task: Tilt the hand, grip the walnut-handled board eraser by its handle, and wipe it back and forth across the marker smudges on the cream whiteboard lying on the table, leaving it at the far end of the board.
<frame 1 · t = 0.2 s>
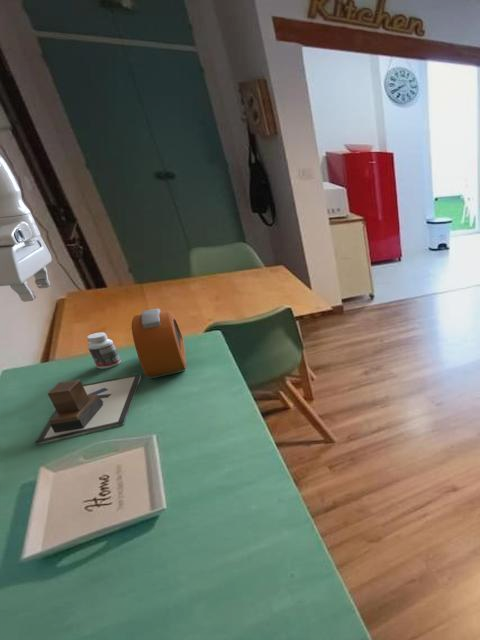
hand: (37, 293, 91), 31 cm above the table, tool pointing down, fingers open, 8 cm apart
whiteboard: (95, 405, 106), on the table
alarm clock: (168, 363, 126), on the table
pill bottle: (109, 365, 124), on the table
eraser: (80, 418, 100), point 1 cm above the table, touching whiteboard
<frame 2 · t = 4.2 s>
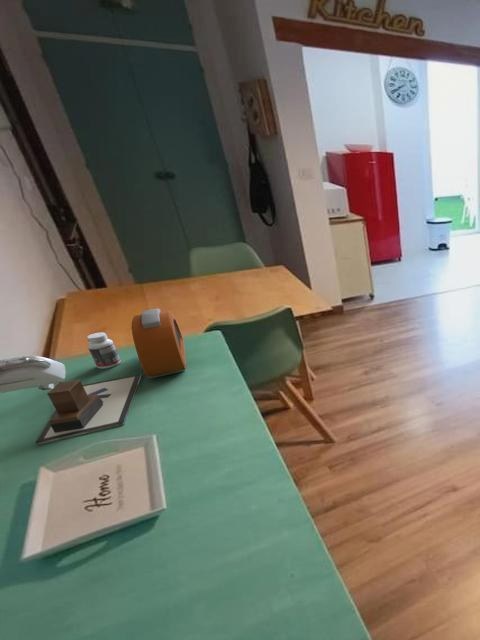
hand: (18, 391, 83), 16 cm above the table, tool tilted 45°, fingers open, 8 cm apart
nothing on the table moved.
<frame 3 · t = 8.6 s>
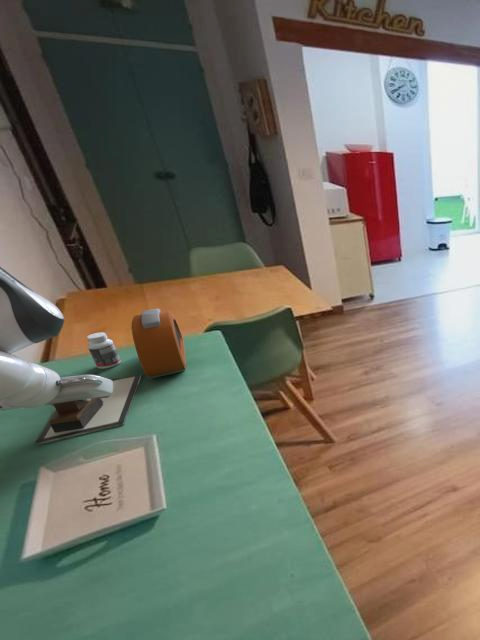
hand: (73, 400, 98), 5 cm above the table, tool tilted 45°, fingers closed on eraser, 4 cm apart
eraser: (80, 418, 100), point 1 cm above the table, touching gripper, whiteboard
everything else where it was.
when the fingers open (5 cm above the table, at t = 17.4 s): eraser stays where it is, resting on whiteboard.
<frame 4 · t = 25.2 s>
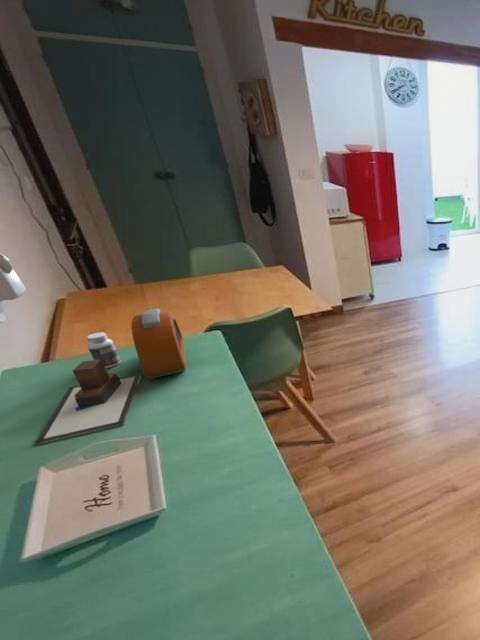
eraser: (101, 394, 109), point 1 cm above the table, touching whiteboard
everything else where it was.
at the end: eraser inside the target area on the whiteboard (0.4 cm from its centre), point 0.6 cm above the whiteboard's base; eraser tilted 0°; pill bottle moved 0.2 cm from its start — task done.
